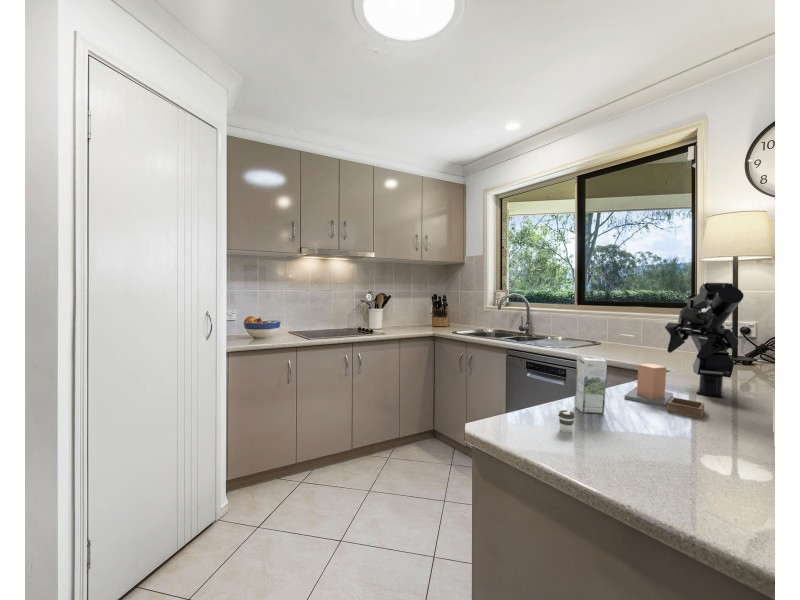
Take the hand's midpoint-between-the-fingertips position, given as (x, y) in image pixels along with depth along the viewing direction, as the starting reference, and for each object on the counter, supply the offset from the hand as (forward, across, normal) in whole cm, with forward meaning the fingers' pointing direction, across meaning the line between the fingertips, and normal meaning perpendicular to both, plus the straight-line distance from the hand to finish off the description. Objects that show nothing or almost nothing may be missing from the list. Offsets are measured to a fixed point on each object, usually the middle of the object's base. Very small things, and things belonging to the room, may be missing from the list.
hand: (682, 354), depth 115 cm
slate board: (+15, -3, +4) cm, 16 cm away
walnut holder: (+16, +9, +3) cm, 19 cm away
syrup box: (+34, +3, -15) cm, 37 cm away
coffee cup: (+46, +14, -25) cm, 54 cm away
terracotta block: (+15, -2, +3) cm, 15 cm away
